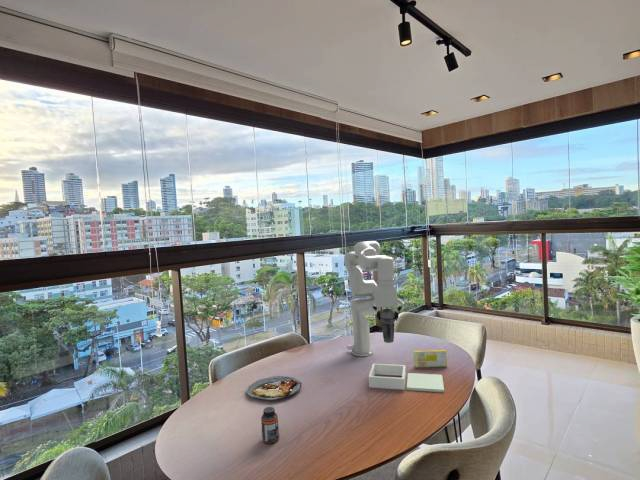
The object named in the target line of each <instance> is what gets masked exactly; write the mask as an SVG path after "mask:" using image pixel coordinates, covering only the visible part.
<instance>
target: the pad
mask: <svg viewBox="0 0 640 480" xmlns="http://www.w3.org/2000/svg"><path fill="white" fill-rule="evenodd" d="M406 391H418V392H434V393H445V388H444V379H443V375H442V374H437V373H434V374H433V373H417V372H416V373H415V372H413V373H412V372H407V380H406Z"/></svg>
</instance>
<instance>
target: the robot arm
mask: <svg viewBox="0 0 640 480" xmlns="http://www.w3.org/2000/svg"><path fill="white" fill-rule="evenodd" d="M380 253H381V245H380V244H379V242H378V241H376V240H366V241H359V242H356V244H354V246H353V251H348V252H346V253H345V255H344V258H343V260H344V261H343V262H344V266H345V268H346V271H347V273H348V277H349V278H348V279H349V286H350V292H351V295H352V296H353V297H354V298H360V299H354V300H353V301H351V303H350V312H351V318H352V320H351V321H352V330H353V332H352V335H353V336H352V337H353V344H347V345H346V349H347V350H351V354H352V355H353V356H356V357H368V356H372V355H373V354H374V350H373V349H372V348H371V333H370V322H369V320H368V319H367V318H366V316H373V315H376V318H377V320H378V321H380V322H381V318H380V315H381V308H382V309H387V308H388V309H394V314H395V322H397V321H398V320H399V311H401V310H402V308H403V307H405V302H404V301H402V300H401V299H400V298H399V297H398V291H397V285H396V284H395V274H394V273H395V272H394V271H395V269H394V268H395V267H394V258H393V257H392V256H388V255H386V254H380ZM362 270H363V271H364V272H377V280H374V279H366V280H365V278H364V272H363V271H362ZM362 297H363V298H362ZM364 297H369V298H364ZM361 298H362V299H361ZM399 304H400V305H399ZM398 305H399V306H398Z"/></svg>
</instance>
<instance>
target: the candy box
mask: <svg viewBox="0 0 640 480" xmlns="http://www.w3.org/2000/svg"><path fill="white" fill-rule="evenodd" d="M413 358H414V359H413V361H414V368H444V367H445V368H447V367H448V362H447V350H446V349H443V350H442V349H441V350H440V349H438V350H414V351H413Z"/></svg>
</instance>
